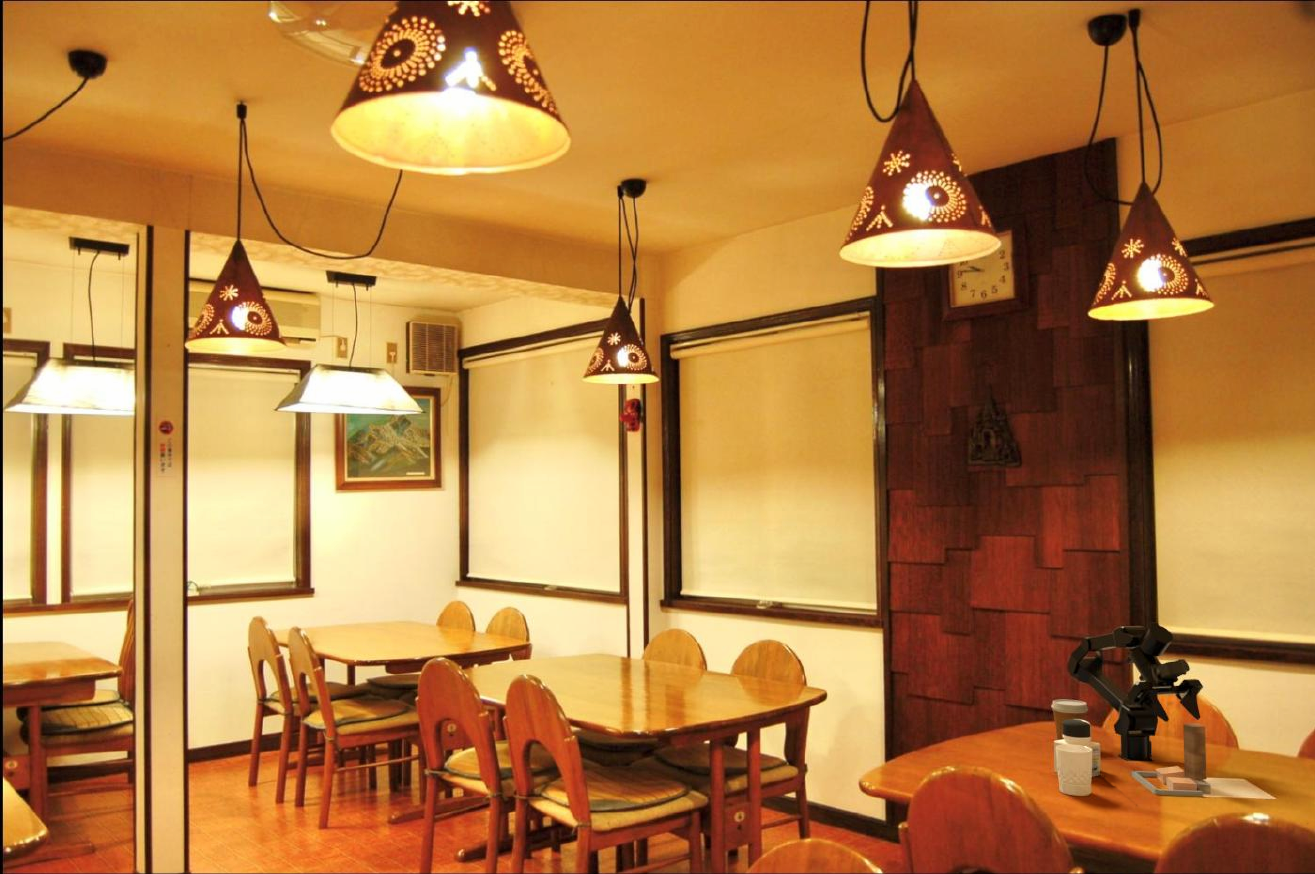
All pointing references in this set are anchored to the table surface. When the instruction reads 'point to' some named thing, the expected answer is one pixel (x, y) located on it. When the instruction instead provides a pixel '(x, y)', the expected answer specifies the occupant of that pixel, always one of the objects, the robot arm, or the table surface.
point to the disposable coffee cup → (1067, 713)
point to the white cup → (1074, 769)
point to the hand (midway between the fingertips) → (1183, 719)
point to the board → (1234, 789)
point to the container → (1079, 741)
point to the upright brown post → (1195, 756)
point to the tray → (1139, 776)
